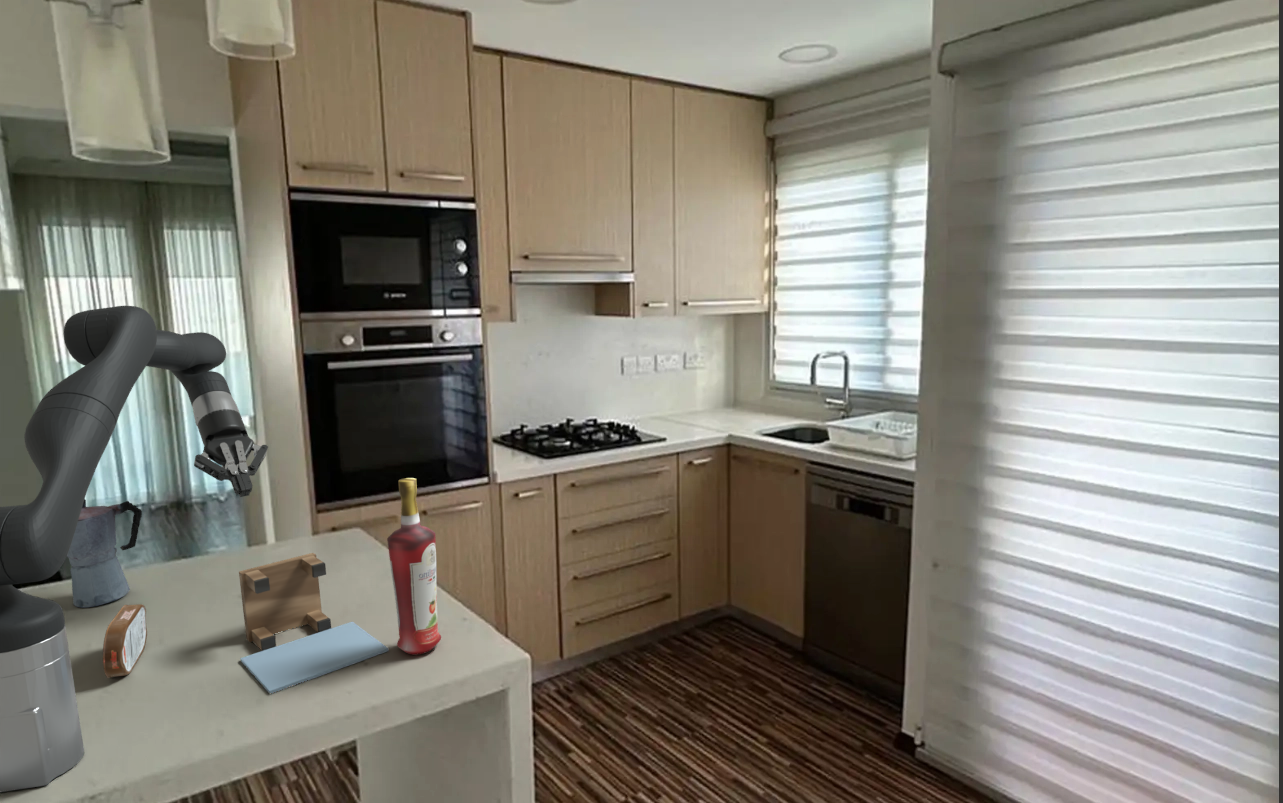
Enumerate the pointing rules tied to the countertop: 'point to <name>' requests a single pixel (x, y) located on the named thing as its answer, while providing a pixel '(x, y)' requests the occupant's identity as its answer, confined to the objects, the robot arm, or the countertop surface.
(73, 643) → the countertop surface
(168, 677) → the countertop surface
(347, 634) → the mat
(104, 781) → the countertop surface
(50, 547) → the robot arm
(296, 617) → the wooden board with legs
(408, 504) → the liquor
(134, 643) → the tin
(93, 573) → the moka pot
